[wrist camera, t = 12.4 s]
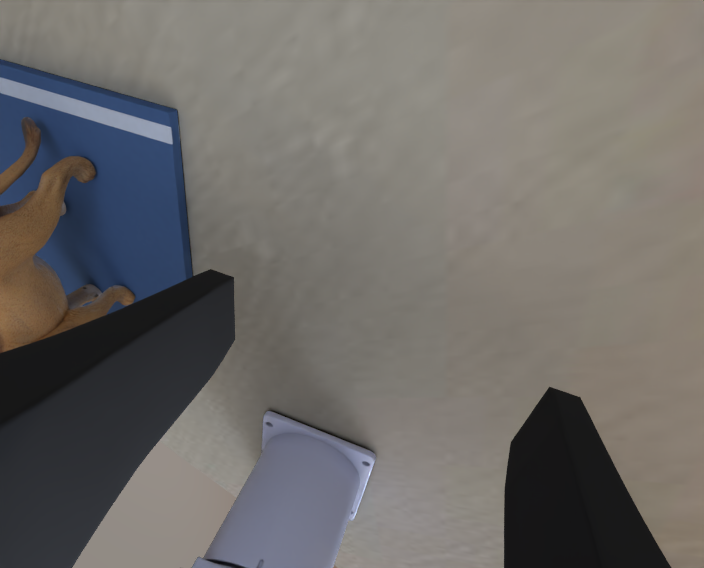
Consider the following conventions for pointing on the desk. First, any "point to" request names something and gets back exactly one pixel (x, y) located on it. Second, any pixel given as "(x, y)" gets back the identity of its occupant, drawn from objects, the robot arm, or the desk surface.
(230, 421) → the desk surface
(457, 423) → the desk surface
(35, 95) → the towel
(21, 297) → the lion figurine
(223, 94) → the desk surface
